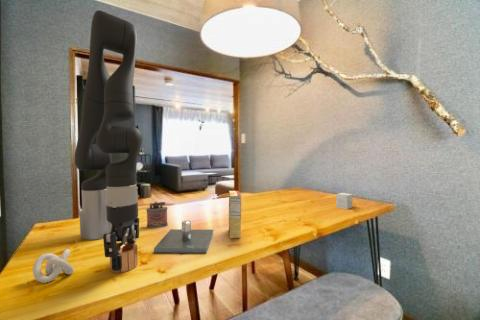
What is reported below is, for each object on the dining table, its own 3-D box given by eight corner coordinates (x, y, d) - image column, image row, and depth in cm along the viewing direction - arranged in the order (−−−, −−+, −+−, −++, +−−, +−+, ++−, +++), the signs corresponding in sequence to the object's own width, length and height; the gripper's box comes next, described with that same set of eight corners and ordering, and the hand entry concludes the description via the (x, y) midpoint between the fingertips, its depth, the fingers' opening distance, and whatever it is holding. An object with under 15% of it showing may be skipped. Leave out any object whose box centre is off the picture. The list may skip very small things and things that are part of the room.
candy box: (228, 229, 90) (228, 190, 89) (239, 229, 90) (239, 190, 90) (229, 238, 81) (229, 195, 80) (241, 238, 82) (241, 195, 81)
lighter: (146, 228, 92) (145, 203, 91) (147, 225, 95) (146, 201, 94) (167, 226, 94) (167, 202, 93) (167, 223, 97) (167, 200, 96)
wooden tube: (104, 272, 59) (104, 253, 59) (118, 260, 66) (118, 243, 65) (130, 273, 59) (129, 253, 59) (141, 260, 65) (141, 243, 65)
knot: (84, 270, 60) (83, 248, 60) (53, 288, 53) (51, 263, 52) (62, 266, 62) (61, 245, 62) (28, 283, 55) (27, 259, 54)
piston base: (154, 252, 70) (153, 230, 70) (170, 233, 86) (170, 214, 86) (206, 253, 70) (206, 230, 70) (213, 233, 86) (213, 215, 86)
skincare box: (341, 205, 127) (341, 192, 127) (352, 207, 122) (352, 194, 122) (335, 207, 123) (336, 193, 123) (347, 209, 119) (347, 195, 118)
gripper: (122, 196, 69) (124, 251, 69) (90, 209, 54) (93, 277, 55) (147, 196, 68) (149, 251, 69) (122, 209, 54) (124, 278, 55)
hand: (124, 262), depth 62 cm, fingers closed on wooden tube, 6 cm apart
